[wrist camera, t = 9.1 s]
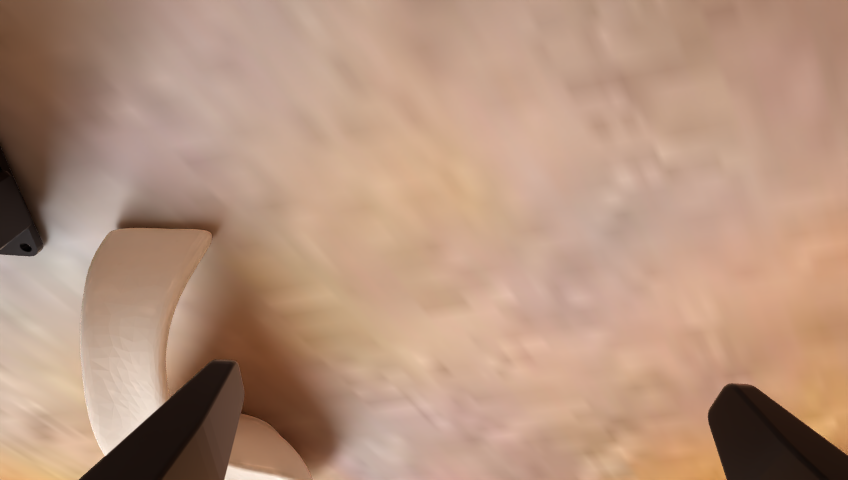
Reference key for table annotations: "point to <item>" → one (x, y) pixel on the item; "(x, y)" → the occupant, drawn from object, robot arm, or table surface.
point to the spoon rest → (154, 345)
